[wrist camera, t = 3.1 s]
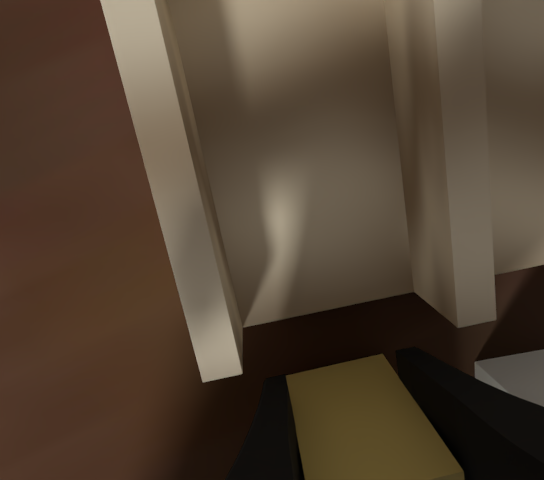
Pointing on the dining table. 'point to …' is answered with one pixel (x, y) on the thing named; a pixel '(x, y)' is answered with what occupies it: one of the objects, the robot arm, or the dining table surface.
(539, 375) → the grey plug
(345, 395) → the mustard plug
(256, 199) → the birch comb rack
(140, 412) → the dining table surface
